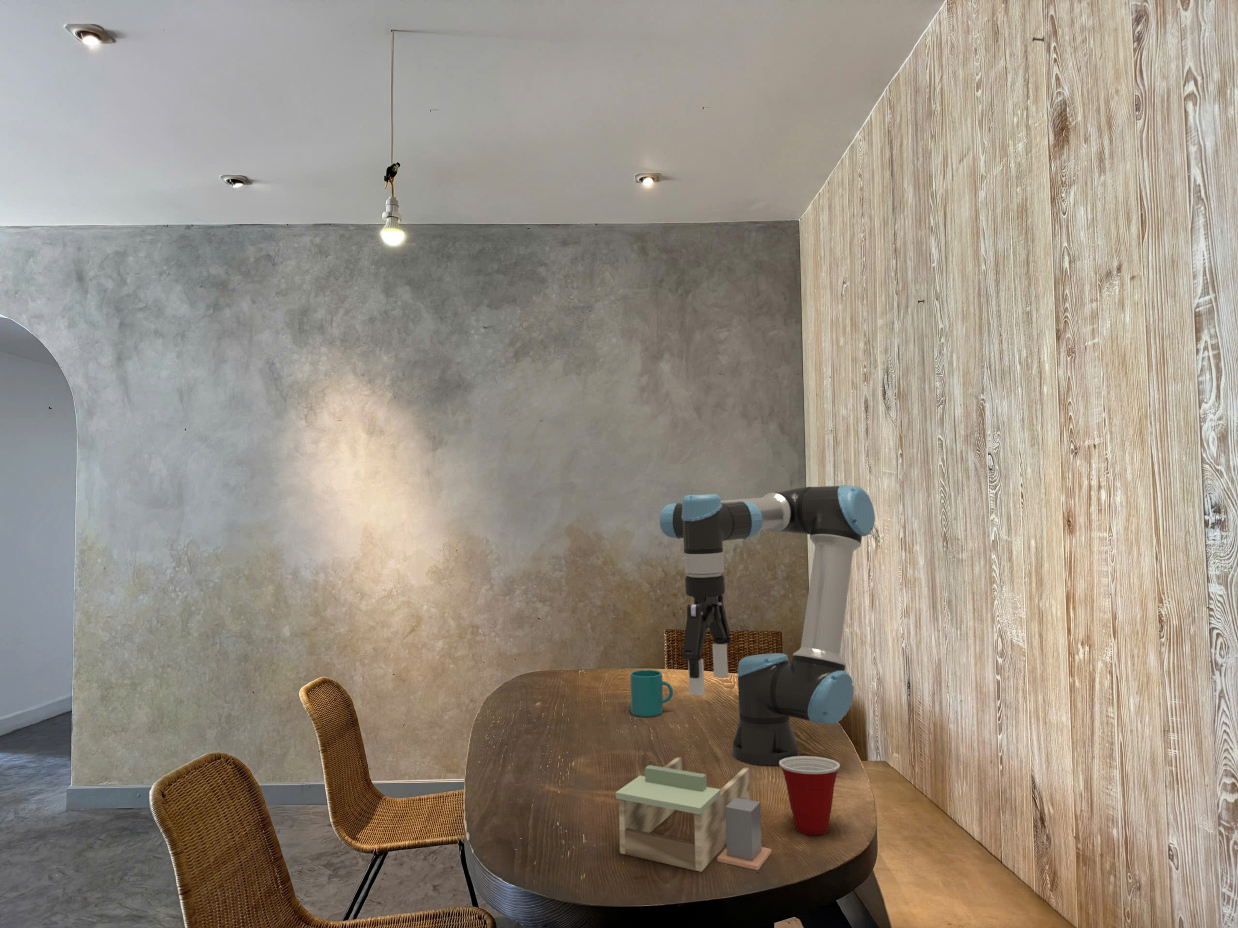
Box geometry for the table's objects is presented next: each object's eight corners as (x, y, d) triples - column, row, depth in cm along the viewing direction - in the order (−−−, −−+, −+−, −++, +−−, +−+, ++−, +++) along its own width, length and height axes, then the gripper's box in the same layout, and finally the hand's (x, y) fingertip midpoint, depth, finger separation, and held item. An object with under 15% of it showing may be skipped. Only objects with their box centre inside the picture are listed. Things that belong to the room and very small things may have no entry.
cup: (674, 717, 213) (673, 676, 213) (631, 717, 213) (630, 677, 213) (672, 708, 222) (671, 669, 222) (631, 709, 222) (630, 669, 222)
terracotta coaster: (732, 844, 133) (732, 840, 134) (771, 852, 130) (771, 848, 130) (717, 861, 127) (717, 857, 127) (757, 870, 124) (757, 866, 124)
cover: (639, 780, 139) (639, 761, 139) (720, 795, 132) (720, 774, 132) (615, 798, 131) (615, 777, 131) (700, 814, 124) (699, 792, 124)
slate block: (736, 844, 132) (735, 797, 132) (761, 850, 130) (760, 801, 130) (726, 855, 128) (725, 806, 128) (752, 861, 126) (751, 811, 126)
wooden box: (678, 803, 152) (677, 756, 153) (750, 816, 145) (749, 768, 145) (619, 852, 131) (618, 799, 132) (701, 871, 124) (699, 814, 124)
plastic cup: (834, 815, 145) (832, 751, 145) (849, 841, 134) (846, 771, 134) (776, 815, 145) (774, 751, 146) (786, 841, 134) (784, 771, 135)
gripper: (707, 566, 161) (712, 668, 160) (661, 582, 138) (666, 701, 138) (742, 567, 157) (747, 671, 157) (700, 583, 135) (705, 704, 134)
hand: (709, 685), depth 147 cm, fingers open, 13 cm apart
